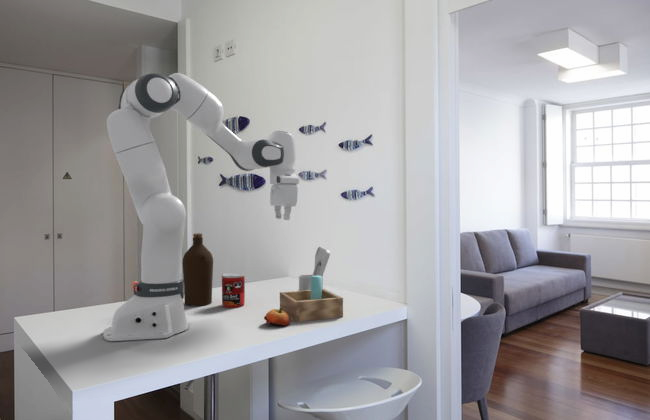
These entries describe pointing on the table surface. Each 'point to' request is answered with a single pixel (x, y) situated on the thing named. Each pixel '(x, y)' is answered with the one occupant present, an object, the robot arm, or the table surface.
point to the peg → (316, 287)
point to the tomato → (277, 317)
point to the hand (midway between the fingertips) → (282, 219)
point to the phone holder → (315, 269)
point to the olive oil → (197, 273)
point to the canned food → (233, 290)
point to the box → (311, 305)
